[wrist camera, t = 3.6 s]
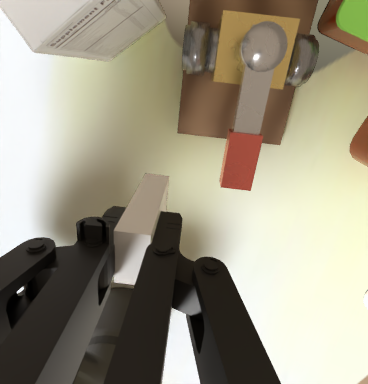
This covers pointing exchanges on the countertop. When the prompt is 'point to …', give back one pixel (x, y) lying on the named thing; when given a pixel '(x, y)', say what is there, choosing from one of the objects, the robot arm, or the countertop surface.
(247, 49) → the lever
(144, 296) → the robot arm
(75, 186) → the countertop surface
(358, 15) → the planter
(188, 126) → the board
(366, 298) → the cup
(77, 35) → the supplement box
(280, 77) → the valve
